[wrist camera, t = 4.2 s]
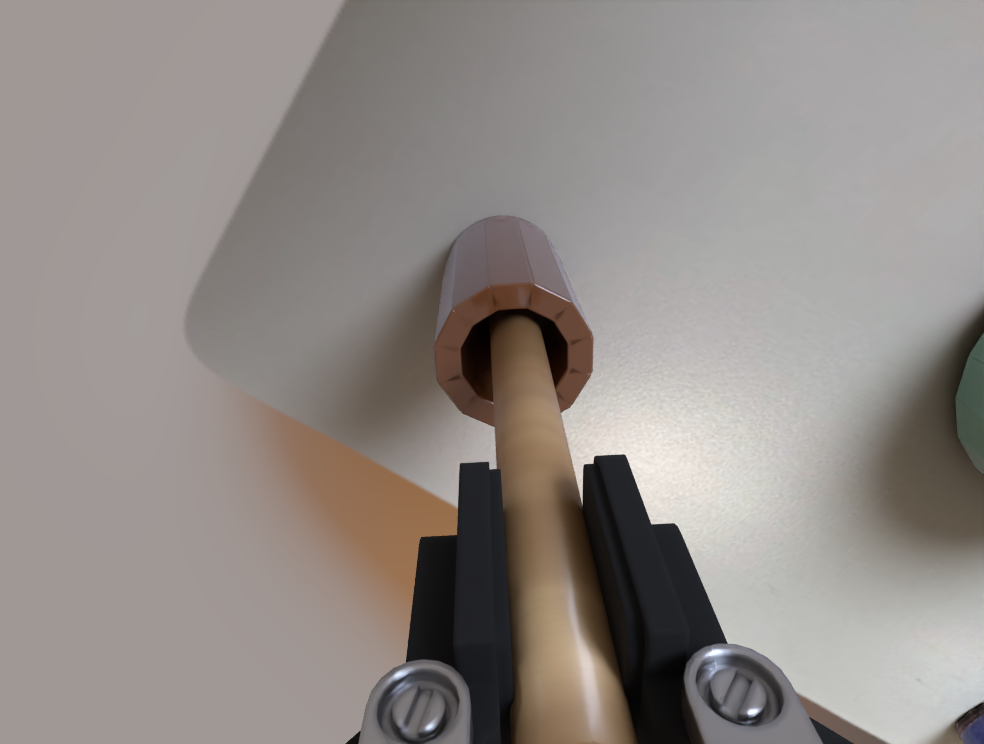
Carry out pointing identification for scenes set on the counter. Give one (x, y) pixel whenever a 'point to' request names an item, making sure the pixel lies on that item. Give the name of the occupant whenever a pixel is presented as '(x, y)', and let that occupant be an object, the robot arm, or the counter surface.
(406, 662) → the robot arm
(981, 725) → the flask
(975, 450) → the bowl
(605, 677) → the cooking stick
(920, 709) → the counter surface
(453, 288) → the crock
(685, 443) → the counter surface
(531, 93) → the counter surface
